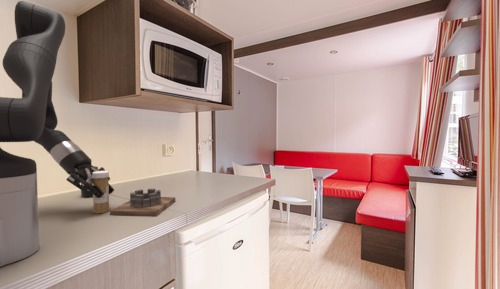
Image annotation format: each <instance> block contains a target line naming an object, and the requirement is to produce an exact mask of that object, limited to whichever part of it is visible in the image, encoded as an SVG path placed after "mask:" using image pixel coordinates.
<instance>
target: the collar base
mask: <svg viewBox="0 0 500 289" xmlns="http://www.w3.org/2000/svg"><path fill="white" fill-rule="evenodd" d="M161 194H162V191H161V189H156V188H148V189H147V192H144V190H143V189H137V190H134V192H130V193H129V197H130V198H129V200H128V201H126V202H123V203H122V204H120V205H118V206H115V207H113V208H112V209H109V216H130V217H131V216H132V217H134V216H135V217H157V216H159V215H160V214H161V213H162V212H163V211H165V210H166V209H167V208H169V207H170V206H172V204H174V203H175V202H176V197H175V196H161Z"/></svg>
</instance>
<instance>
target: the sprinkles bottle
mask: <svg viewBox="0 0 500 289" xmlns="http://www.w3.org/2000/svg"><path fill="white" fill-rule="evenodd" d="M109 172H110V171H109V170H105V171H96V172H93V173H92V178H93V181H94V183H95V186H98V187H99V188H100V189H101V190H102V191H103V192H104V195H103V196H102V197H101V198H97V197H96V196H95V195H94V194H93V197H92V202H93V210H92V211H93V213H94V214H103V213H104V214H105V213H107V212H110V194H109V185H108V183H109V181H108V178H109V177H110V173H109Z"/></svg>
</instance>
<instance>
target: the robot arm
mask: <svg viewBox="0 0 500 289" xmlns="http://www.w3.org/2000/svg"><path fill="white" fill-rule="evenodd" d="M65 22H66V21H65V19H64V16H63V15H62V14H61V13H59V12H57V11H55V10H54V9H51V8H47V7H43V6H40V5H36V4H35V3H31V2H28V1H24V0H20V1H17V3H16V5H15V6H14V26H15V33H16V39H15V40H14V41H12V42H11V43H10V44H9V45H8V47H7V49H6V51H5V54H4V56H3V58H2V68H3V70H4V72H5V73H6V75H7V77H9V78H10V79H11V81H12V82H13V83H14V84H15V85H16V86H17V87H18V88H19V89H20V90H21V97H16V98H15V97H3V96H0V143H26V142H27V143H28V142H34V143H36V144H38V145H40V146H41V147H43V149H45V151H47V153H48V154H50V156H51V158H52V159H53V160H54V161H55V163H57V164H58V165H59V167H61V168H62V169H63V171H65V173H66V174H68V177H67V178H66V181H67V182H68V183H70V184H71V185H73V186H75V187H76V188H78V189H79V190H80V191H81V190H82V191H85V190H88V191H91V192H92V193H93V194H94V195H95V196H96V197H97V198H101V197H102V196H103V195H104V192H103V191H102V190H101V189H100V188H99V187H98V186H95V183H94V181H93V178H92V173H93V172H96V171H106V169H105V168H104V167H100V168H98V169H96V168H95V167H94V165H92V159H91V158H90V157H89V155H87V154H86V153H85V152H84V150H82V148H80V146H78V144H76V143H74V141H72V139H70V137H68V136H67V134H65V133H64V132H63V131H61V130H59V129H58V130H57V129H56V128H57V126H58V123H59V122H58V117H57V113H56V111H55V106H54V103H53V101H52V100H53V77H54V74H55V69H56V65H57V58H58V53H59V50H60V49H59V48H60V46H61V45H62V43H63V39H64V37H65V34H66V23H65ZM37 169H38V167H37V162H36V161H35V160H34V159H32V158H28V157H24V156H19V155H16V154H12V153H10V152H8V151H6V150H4V149H2V147H0V268H1V267H3V266H6V265H9V264H12V263H15V262H18V261H21V260H24V259H26V258H28V257H30V256H32V255H33V254H35V253H36V252H38V251H39V250H40V229H39V228H40V227H39V224H40V223H39V200H38V197H39V196H38V194H39V193H38V172H37V171H38V170H37ZM110 180H111V178H110V176H109V178H108V185H109V195H111V194H113V193H114V191H115V188H114V187H113V186H112V185H111V184H110V183H109V182H110ZM81 183H82V185H83V186H82V185H81Z"/></svg>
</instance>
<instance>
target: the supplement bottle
mask: <svg viewBox="0 0 500 289" xmlns="http://www.w3.org/2000/svg"><path fill="white" fill-rule="evenodd" d="M93 166H94V165H93ZM94 167H95V168H96V169H99V167H98V166H94ZM80 185H82V183H80ZM82 186H83V185H82ZM80 195H81V198H93V193H92V192H91V191H88V190H85V191H82V190H80Z"/></svg>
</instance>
